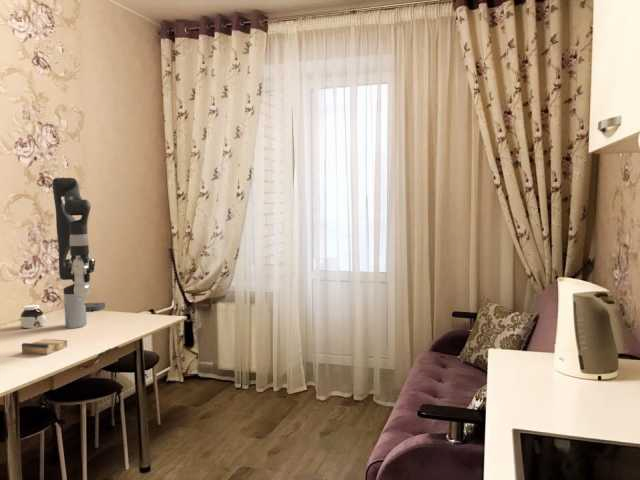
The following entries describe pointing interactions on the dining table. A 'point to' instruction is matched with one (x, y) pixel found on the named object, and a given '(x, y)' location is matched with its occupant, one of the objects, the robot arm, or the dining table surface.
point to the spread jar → (32, 317)
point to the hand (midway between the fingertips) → (81, 282)
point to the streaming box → (94, 306)
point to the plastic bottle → (80, 278)
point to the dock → (43, 346)
